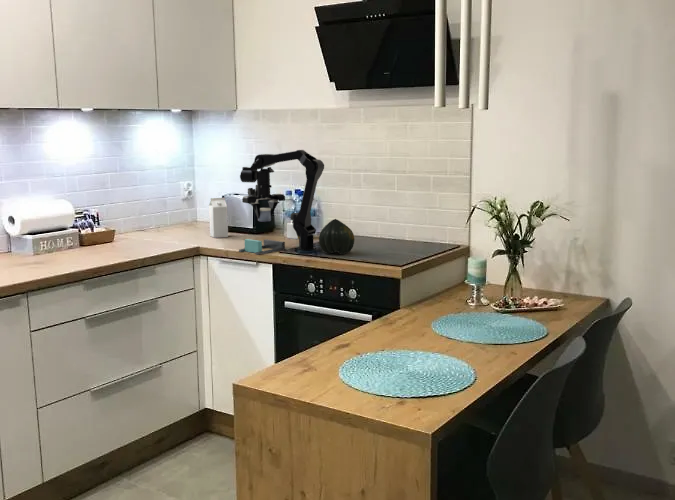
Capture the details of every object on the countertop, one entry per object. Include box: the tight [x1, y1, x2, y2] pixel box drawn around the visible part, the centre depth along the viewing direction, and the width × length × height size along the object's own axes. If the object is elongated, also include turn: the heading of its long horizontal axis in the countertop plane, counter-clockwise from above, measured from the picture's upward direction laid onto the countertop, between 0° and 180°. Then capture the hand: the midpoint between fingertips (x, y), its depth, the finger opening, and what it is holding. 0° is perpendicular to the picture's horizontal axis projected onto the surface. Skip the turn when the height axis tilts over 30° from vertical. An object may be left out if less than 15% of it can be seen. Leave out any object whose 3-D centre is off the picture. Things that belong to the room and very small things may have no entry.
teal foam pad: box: [244, 238, 263, 254], centre depth 316 cm, size 2×9×5 cm, turn 48°
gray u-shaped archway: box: [238, 238, 286, 256], centre depth 320 cm, size 16×12×4 cm
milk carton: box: [208, 197, 229, 239], centre depth 360 cm, size 7×7×19 cm
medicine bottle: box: [286, 212, 299, 240], centre depth 355 cm, size 7×7×12 cm
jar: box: [257, 207, 272, 223], centre depth 329 cm, size 6×6×5 cm
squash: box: [318, 218, 355, 255], centre depth 313 cm, size 14×15×15 cm
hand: (264, 217), depth 329 cm, fingers closed on jar, 6 cm apart
